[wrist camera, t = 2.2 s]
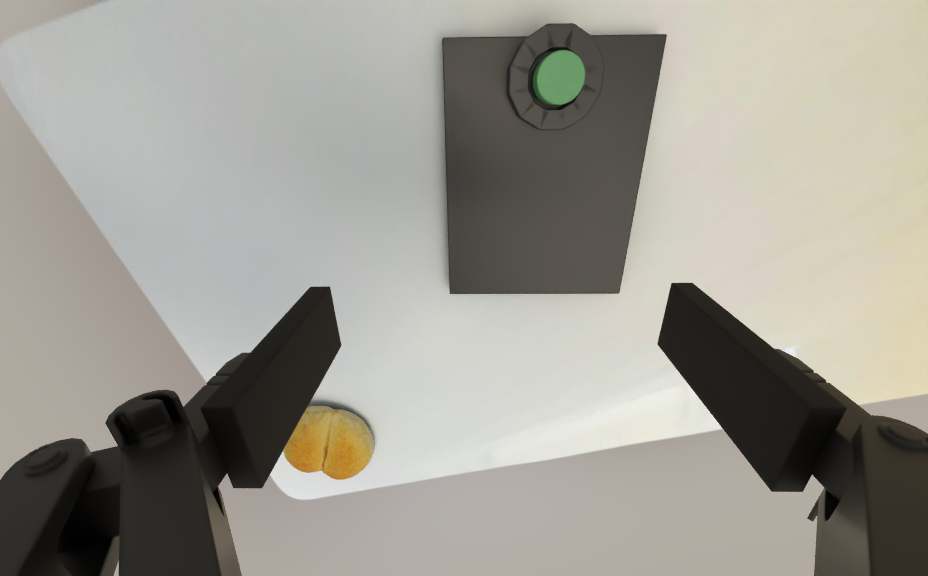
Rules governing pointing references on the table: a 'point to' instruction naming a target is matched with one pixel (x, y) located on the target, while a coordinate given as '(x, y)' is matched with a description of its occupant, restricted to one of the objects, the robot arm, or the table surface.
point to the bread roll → (330, 443)
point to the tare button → (559, 77)
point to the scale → (544, 161)
